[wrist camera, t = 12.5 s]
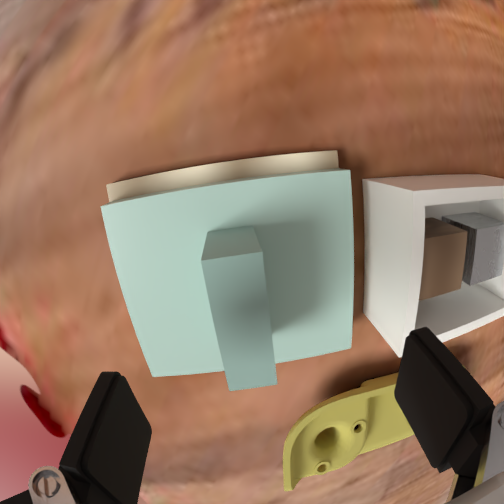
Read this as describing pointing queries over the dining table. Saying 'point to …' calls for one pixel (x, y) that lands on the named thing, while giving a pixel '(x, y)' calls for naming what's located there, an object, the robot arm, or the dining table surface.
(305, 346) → the lid
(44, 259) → the dining table surface
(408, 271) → the tub
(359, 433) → the plastic component
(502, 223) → the steel block
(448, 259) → the walnut block
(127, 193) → the board
